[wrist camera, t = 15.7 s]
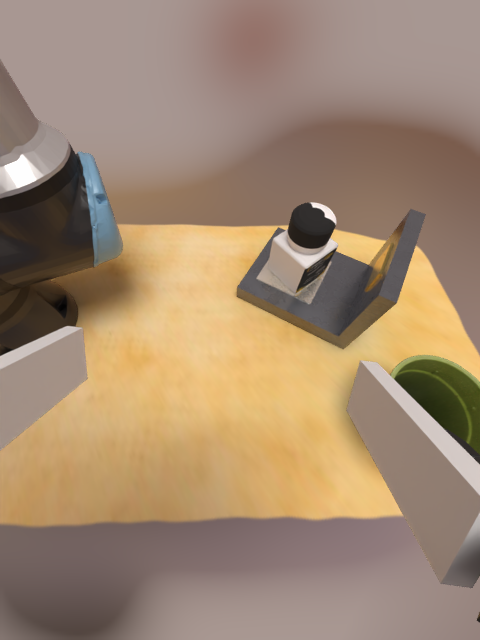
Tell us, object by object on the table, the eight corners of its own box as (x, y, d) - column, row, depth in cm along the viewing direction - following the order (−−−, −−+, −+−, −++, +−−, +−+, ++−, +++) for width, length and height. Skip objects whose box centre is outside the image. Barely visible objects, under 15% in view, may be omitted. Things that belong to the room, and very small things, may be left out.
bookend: (237, 296, 45) (238, 233, 32) (275, 238, 51) (290, 165, 38) (343, 349, 41) (396, 303, 28) (371, 279, 47) (425, 214, 34)
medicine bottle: (295, 295, 42) (316, 243, 31) (266, 267, 44) (277, 210, 33) (324, 273, 44) (354, 217, 33) (295, 248, 46) (314, 188, 35)
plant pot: (436, 471, 34) (523, 482, 24) (347, 458, 34) (395, 464, 24) (420, 383, 39) (485, 361, 29) (343, 372, 39) (380, 348, 29)
